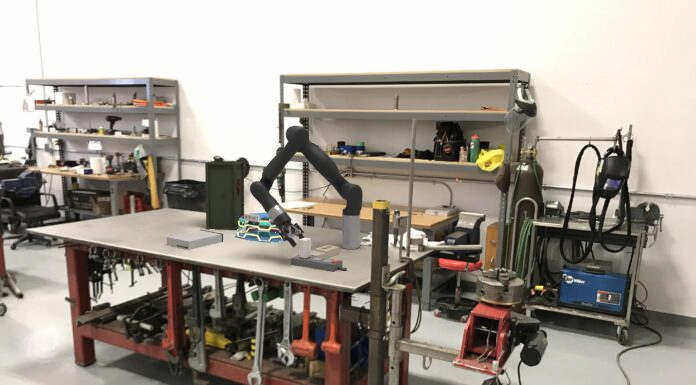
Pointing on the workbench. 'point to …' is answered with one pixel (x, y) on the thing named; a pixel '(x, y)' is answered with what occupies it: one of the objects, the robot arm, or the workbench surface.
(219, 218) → the green ammo box
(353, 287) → the workbench surface
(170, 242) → the disc drive
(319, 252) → the electrical outlet
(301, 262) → the power strip
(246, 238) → the stadium
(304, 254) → the block
